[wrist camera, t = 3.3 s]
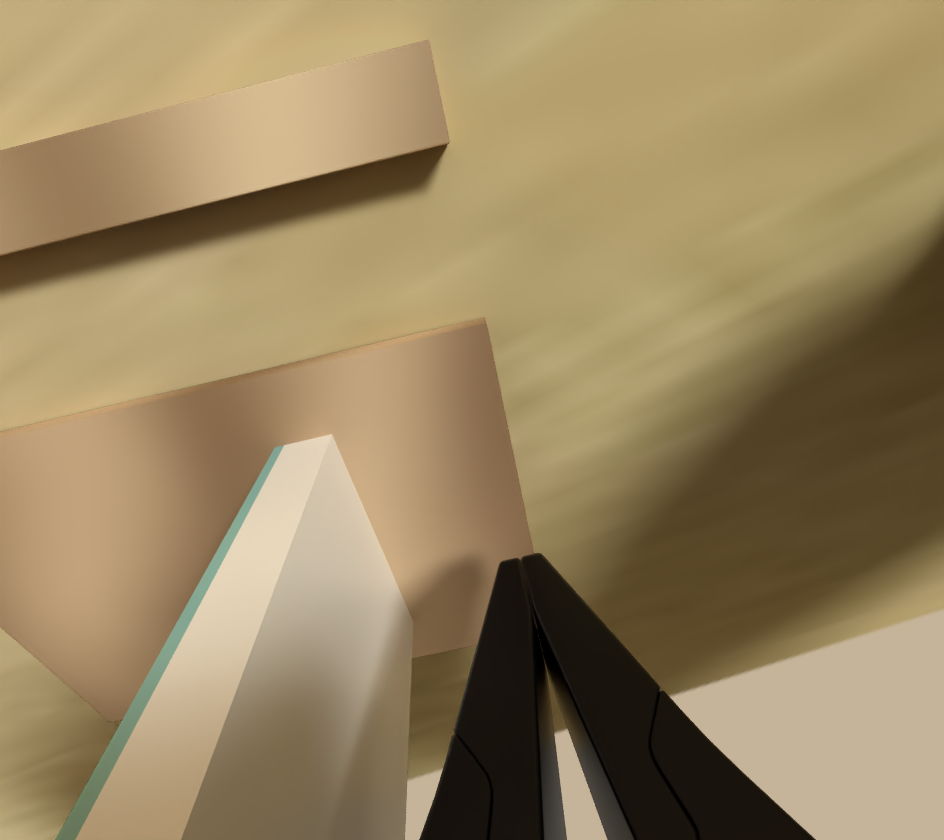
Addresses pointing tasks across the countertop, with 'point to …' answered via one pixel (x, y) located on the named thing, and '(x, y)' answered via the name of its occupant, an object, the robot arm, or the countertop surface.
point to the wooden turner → (221, 147)
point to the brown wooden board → (227, 486)
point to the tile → (272, 682)
